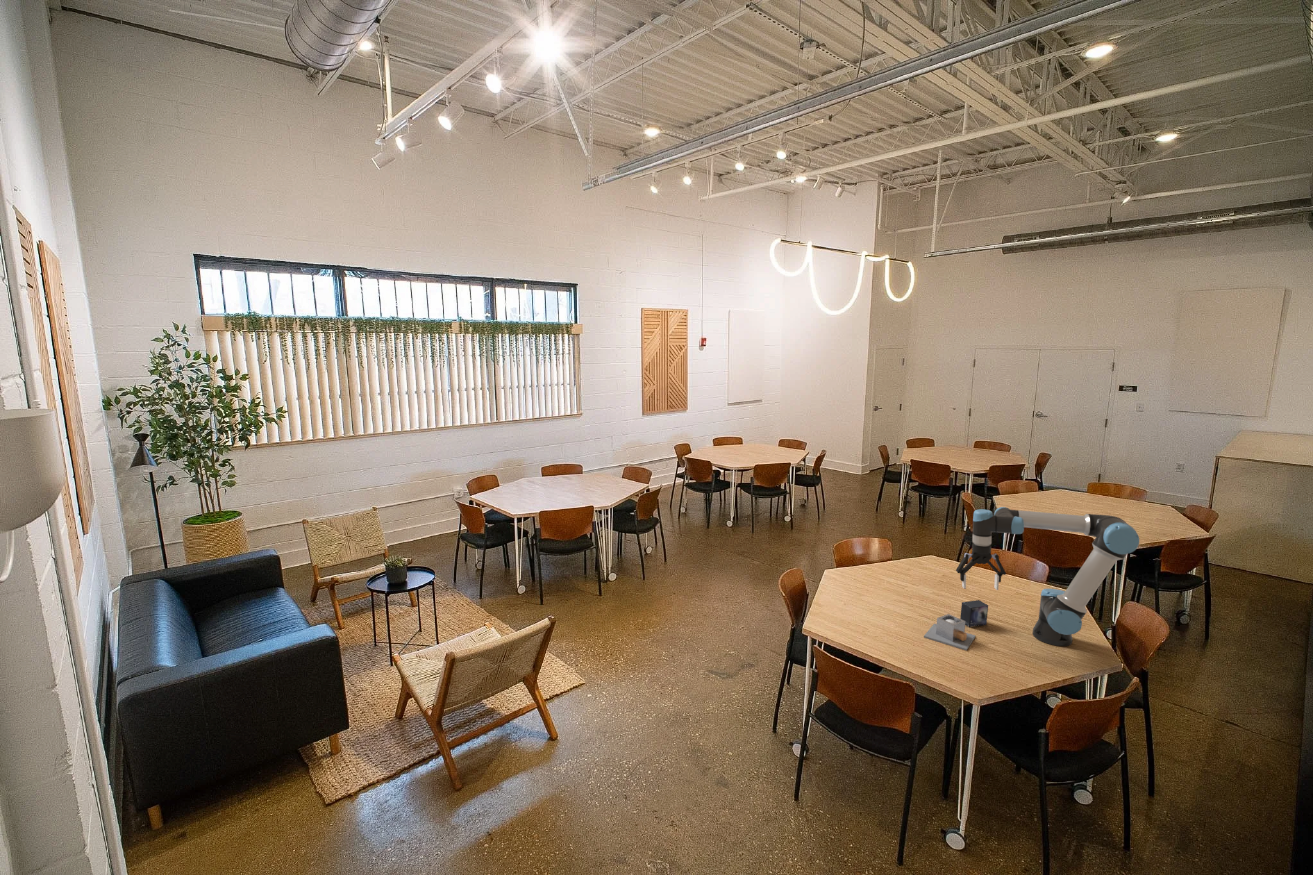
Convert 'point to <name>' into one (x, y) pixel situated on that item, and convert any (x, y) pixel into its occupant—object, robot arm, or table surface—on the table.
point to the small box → (974, 613)
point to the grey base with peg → (958, 643)
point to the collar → (951, 628)
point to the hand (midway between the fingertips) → (980, 588)
